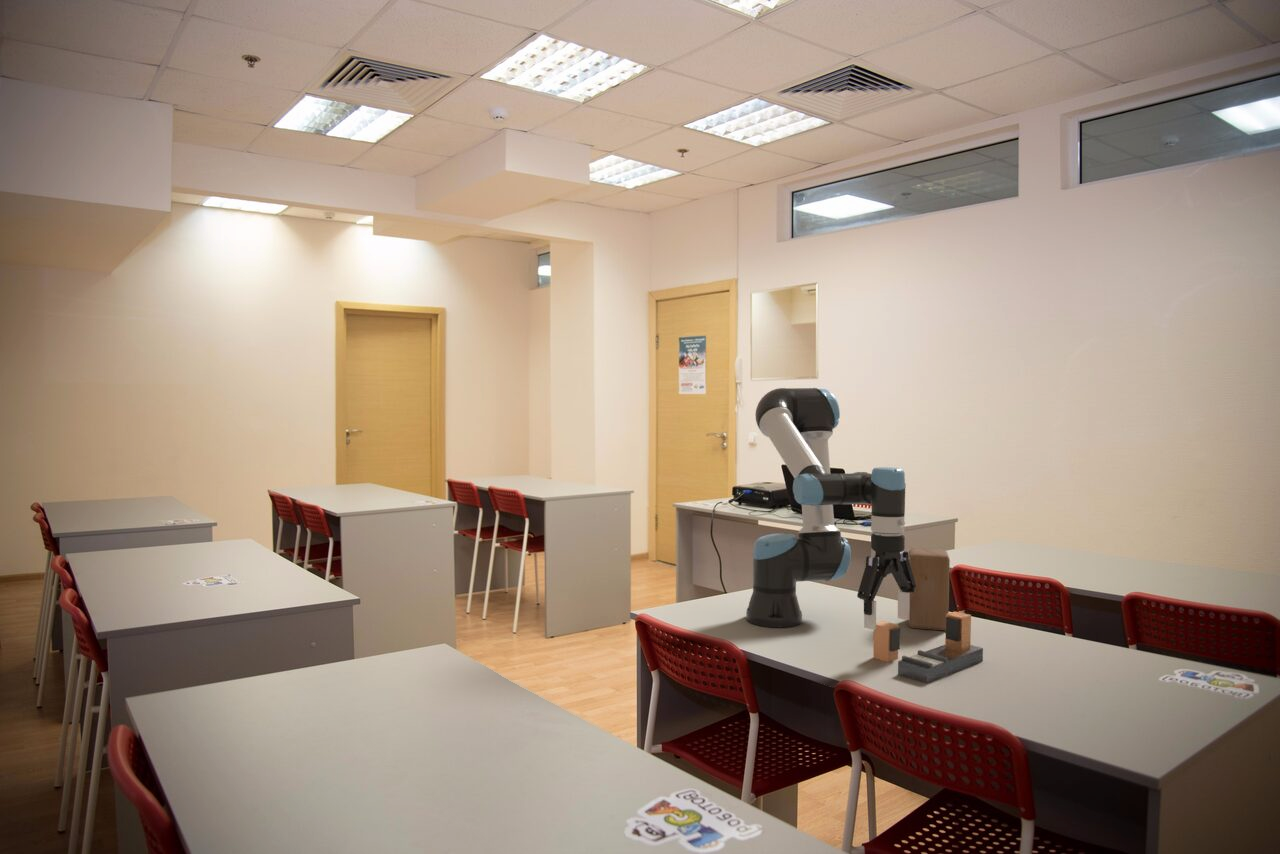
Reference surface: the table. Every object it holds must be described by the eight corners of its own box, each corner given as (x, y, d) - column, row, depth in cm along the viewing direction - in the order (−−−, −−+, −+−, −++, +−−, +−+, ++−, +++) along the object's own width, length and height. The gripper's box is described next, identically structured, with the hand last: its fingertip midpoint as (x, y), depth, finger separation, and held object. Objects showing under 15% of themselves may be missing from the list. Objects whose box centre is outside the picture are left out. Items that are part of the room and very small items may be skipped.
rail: (897, 674, 182) (898, 625, 181) (954, 653, 197) (955, 608, 197) (926, 683, 177) (927, 632, 176) (982, 660, 192) (983, 614, 191)
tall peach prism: (883, 654, 196) (883, 621, 196) (900, 659, 193) (901, 625, 192) (873, 657, 194) (873, 624, 194) (891, 662, 190) (891, 628, 190)
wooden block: (908, 628, 218) (909, 554, 217) (907, 618, 228) (908, 547, 227) (948, 632, 215) (950, 556, 214) (945, 622, 225) (947, 549, 224)
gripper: (870, 540, 182) (869, 636, 182) (931, 530, 197) (930, 618, 198) (842, 536, 187) (841, 629, 188) (903, 527, 203) (903, 612, 204)
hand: (887, 623), depth 193 cm, fingers open, 13 cm apart
